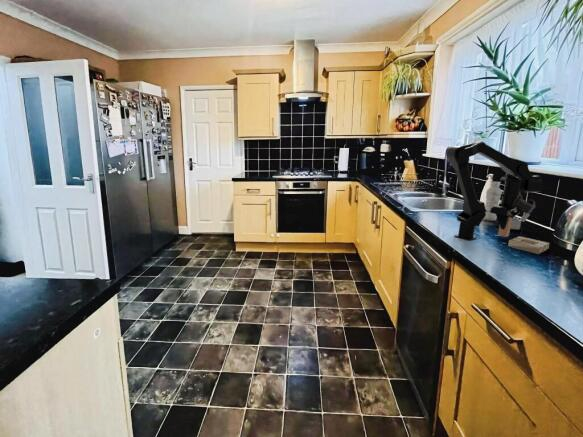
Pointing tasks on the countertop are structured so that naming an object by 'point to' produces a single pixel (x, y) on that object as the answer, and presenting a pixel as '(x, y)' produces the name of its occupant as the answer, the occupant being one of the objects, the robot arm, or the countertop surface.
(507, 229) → the peg
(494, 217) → the plastic bottle
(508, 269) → the countertop surface
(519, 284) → the countertop surface
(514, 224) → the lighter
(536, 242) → the socket block
